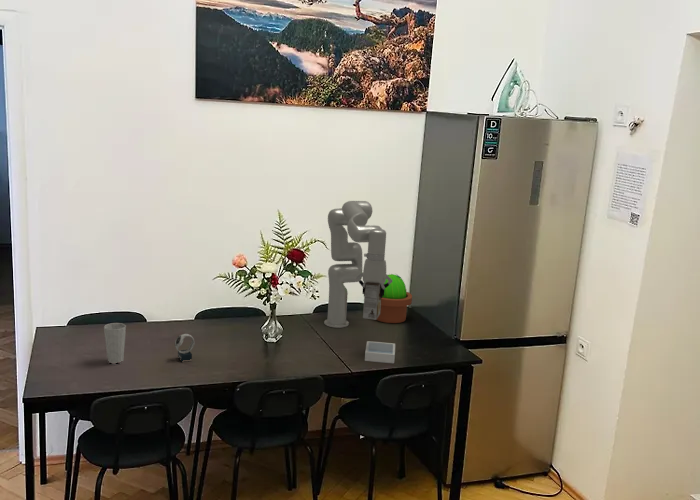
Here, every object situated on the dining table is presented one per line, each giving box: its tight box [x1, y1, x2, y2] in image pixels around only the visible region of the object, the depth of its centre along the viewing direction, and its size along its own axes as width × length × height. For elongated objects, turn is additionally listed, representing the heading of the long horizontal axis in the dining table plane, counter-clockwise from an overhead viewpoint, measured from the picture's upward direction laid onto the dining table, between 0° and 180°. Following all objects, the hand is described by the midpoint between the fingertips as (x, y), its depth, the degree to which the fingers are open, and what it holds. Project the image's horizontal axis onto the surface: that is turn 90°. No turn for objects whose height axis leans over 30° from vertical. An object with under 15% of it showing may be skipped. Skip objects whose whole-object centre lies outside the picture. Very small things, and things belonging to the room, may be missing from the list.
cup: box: [103, 322, 127, 363], centre depth 253 cm, size 8×8×16 cm
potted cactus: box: [375, 273, 413, 324], centre depth 329 cm, size 22×22×25 cm
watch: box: [174, 333, 196, 362], centre depth 260 cm, size 6×8×11 cm
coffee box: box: [362, 282, 382, 321], centre depth 273 cm, size 9×6×16 cm
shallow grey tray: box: [364, 340, 396, 364], centre depth 278 cm, size 14×13×4 cm
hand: (373, 296), depth 273 cm, fingers closed on coffee box, 6 cm apart
